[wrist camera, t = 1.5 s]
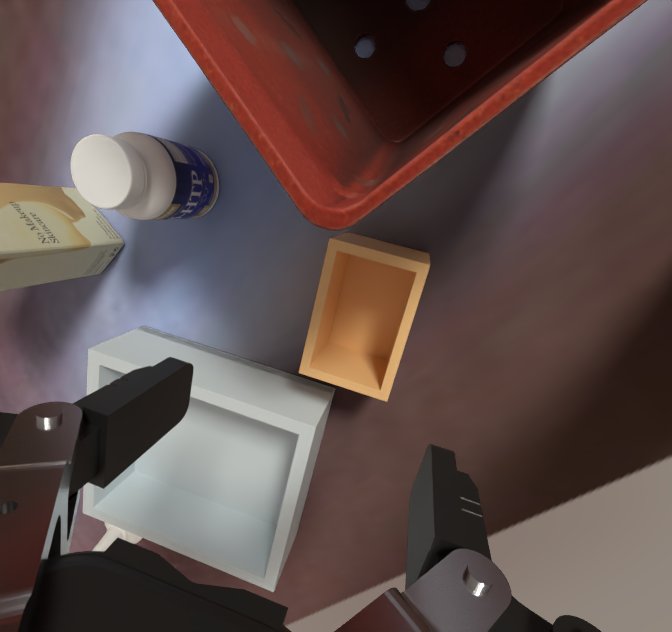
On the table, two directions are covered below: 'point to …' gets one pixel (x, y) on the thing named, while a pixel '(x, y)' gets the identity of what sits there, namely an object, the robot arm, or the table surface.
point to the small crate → (363, 313)
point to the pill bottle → (144, 176)
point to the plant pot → (374, 82)
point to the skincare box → (51, 236)
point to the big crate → (216, 458)
